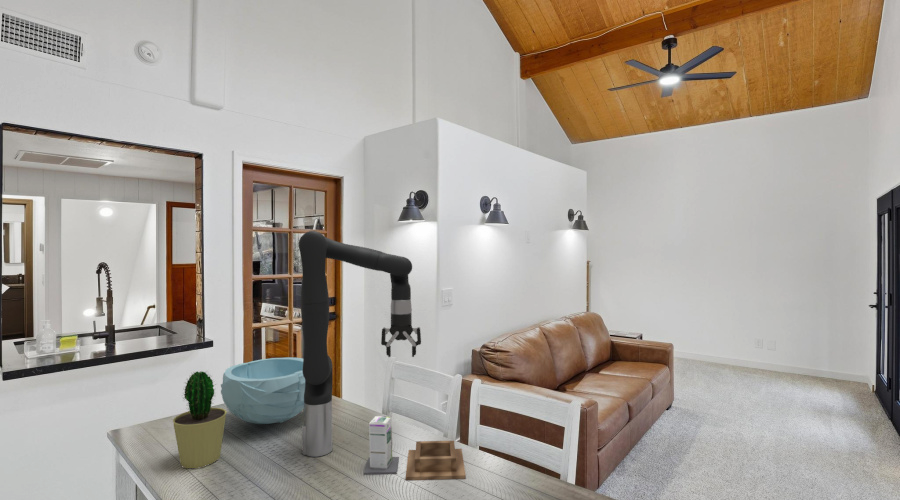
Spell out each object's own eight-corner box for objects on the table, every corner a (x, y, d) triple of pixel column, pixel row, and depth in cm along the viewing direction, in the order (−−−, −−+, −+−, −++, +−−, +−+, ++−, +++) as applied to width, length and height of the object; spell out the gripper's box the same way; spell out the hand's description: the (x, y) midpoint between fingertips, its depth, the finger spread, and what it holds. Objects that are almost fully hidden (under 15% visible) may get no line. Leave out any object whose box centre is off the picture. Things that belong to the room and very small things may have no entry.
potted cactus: (237, 453, 154) (236, 365, 154) (199, 475, 140) (197, 378, 139) (202, 447, 159) (201, 361, 159) (161, 467, 145) (160, 373, 144)
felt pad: (363, 474, 140) (363, 472, 140) (368, 459, 150) (368, 457, 150) (396, 473, 140) (396, 471, 140) (398, 458, 150) (398, 456, 150)
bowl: (259, 450, 157) (259, 387, 156) (203, 428, 175) (202, 372, 175) (335, 417, 186) (334, 364, 186) (280, 402, 205) (279, 353, 205)
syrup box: (387, 469, 141) (386, 423, 141) (369, 468, 142) (368, 421, 142) (392, 460, 147) (392, 416, 147) (374, 459, 148) (374, 415, 148)
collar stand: (405, 480, 136) (405, 463, 136) (408, 452, 154) (408, 438, 154) (465, 478, 137) (465, 462, 137) (461, 451, 155) (461, 437, 155)
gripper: (380, 313, 160) (380, 359, 161) (420, 313, 161) (420, 358, 161) (382, 310, 168) (382, 354, 168) (421, 310, 168) (421, 353, 169)
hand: (401, 356), depth 165 cm, fingers open, 8 cm apart
